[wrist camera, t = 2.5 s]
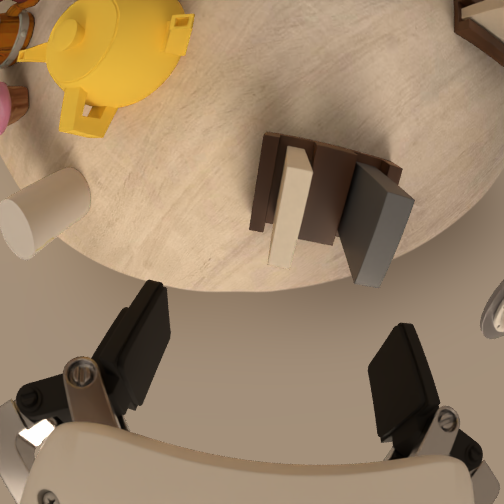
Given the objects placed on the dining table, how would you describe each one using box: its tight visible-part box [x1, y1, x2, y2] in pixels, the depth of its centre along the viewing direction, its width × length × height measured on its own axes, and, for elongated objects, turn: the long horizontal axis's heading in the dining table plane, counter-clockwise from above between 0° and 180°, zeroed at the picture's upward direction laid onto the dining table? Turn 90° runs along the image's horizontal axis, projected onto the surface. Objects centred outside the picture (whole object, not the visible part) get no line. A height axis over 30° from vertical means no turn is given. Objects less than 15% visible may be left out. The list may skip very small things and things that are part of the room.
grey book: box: [337, 162, 415, 288], centre depth 23 cm, size 2×8×10 cm, turn 172°
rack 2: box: [454, 0, 504, 67], centre depth 10 cm, size 9×14×4 cm, turn 172°
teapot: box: [17, 0, 195, 138], centre depth 17 cm, size 17×17×12 cm
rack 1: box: [249, 132, 403, 246], centre depth 27 cm, size 14×10×4 cm
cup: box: [0, 167, 91, 260], centre depth 28 cm, size 8×8×12 cm
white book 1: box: [268, 146, 313, 269], centre depth 24 cm, size 2×8×10 cm, turn 172°
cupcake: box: [0, 82, 29, 135], centre depth 21 cm, size 9×9×10 cm
